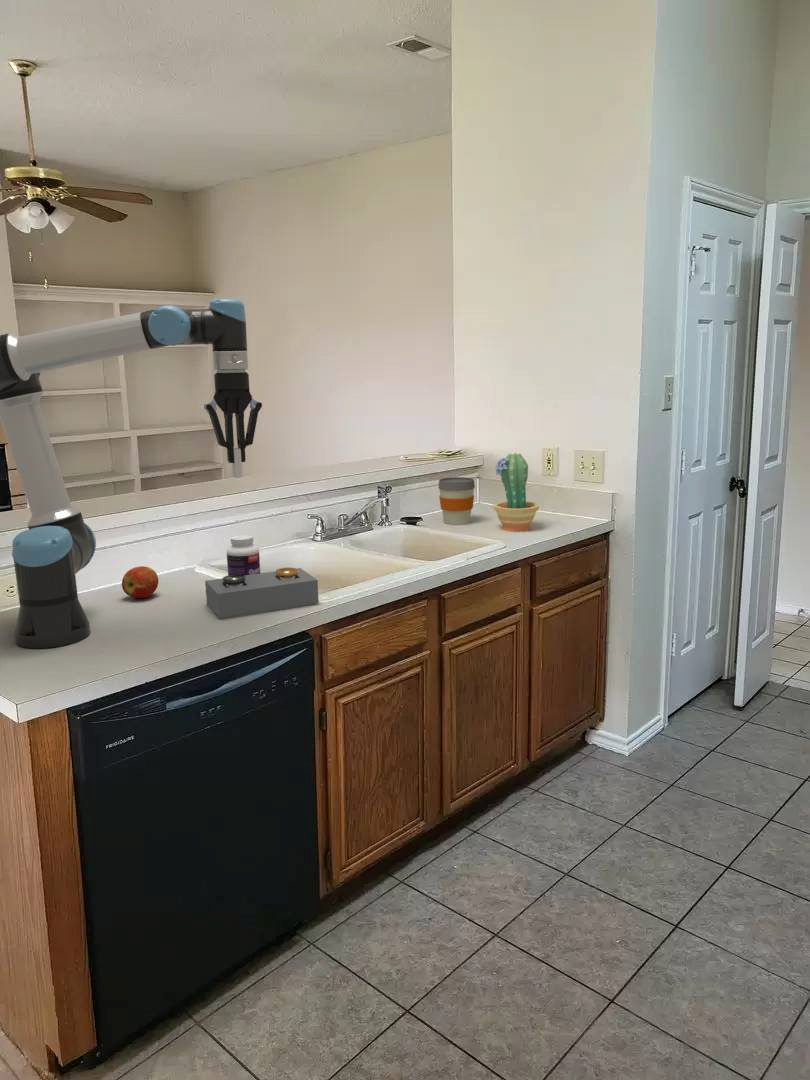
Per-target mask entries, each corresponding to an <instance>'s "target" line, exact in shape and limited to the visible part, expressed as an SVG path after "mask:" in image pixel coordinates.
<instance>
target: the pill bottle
mask: <svg viewBox="0 0 810 1080" xmlns="http://www.w3.org/2000/svg"><path fill="white" fill-rule="evenodd" d="M230 543H231V545H230V546H229V547H228V548H227V549H226V563H227V576H228V575H251V574H259V573H261V563H260V550H259V546H257V545H255V544H253V543H254V536H253V535H250V534H241V535H234V536H231V537H230Z"/></svg>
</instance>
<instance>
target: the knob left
mask: <svg viewBox="0 0 810 1080" xmlns="http://www.w3.org/2000/svg"><path fill="white" fill-rule="evenodd" d="M222 578H223V583H224V584H226V588H230V587H237V586H243V582H245V576H244V575H228V574H227V575H225V576H223V577H222Z"/></svg>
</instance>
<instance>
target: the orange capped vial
mask: <svg viewBox="0 0 810 1080" xmlns="http://www.w3.org/2000/svg"><path fill="white" fill-rule="evenodd" d="M275 571H276V575H277V576H279V580H280V581H281V580H288V579H295V576H296V575H297V574H298V569H296V567H282V568H281V567H280V568H278V569H276V570H275Z"/></svg>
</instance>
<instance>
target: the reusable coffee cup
mask: <svg viewBox="0 0 810 1080" xmlns="http://www.w3.org/2000/svg"><path fill="white" fill-rule="evenodd" d="M475 488H476V486H475V479H474V478H472V477H461V476H460V477H459V476H455V477H453V476H452V477H443V478H439V480H438V489H439V496H438V497H439V503H440V504H439V505H440V509H441V510H442V518H443V523H444V525H450V526H464V525H469V524H470V523H471V515H472V509H473V508H474V501H475V500H474V499H475V495H474V490H475Z"/></svg>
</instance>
